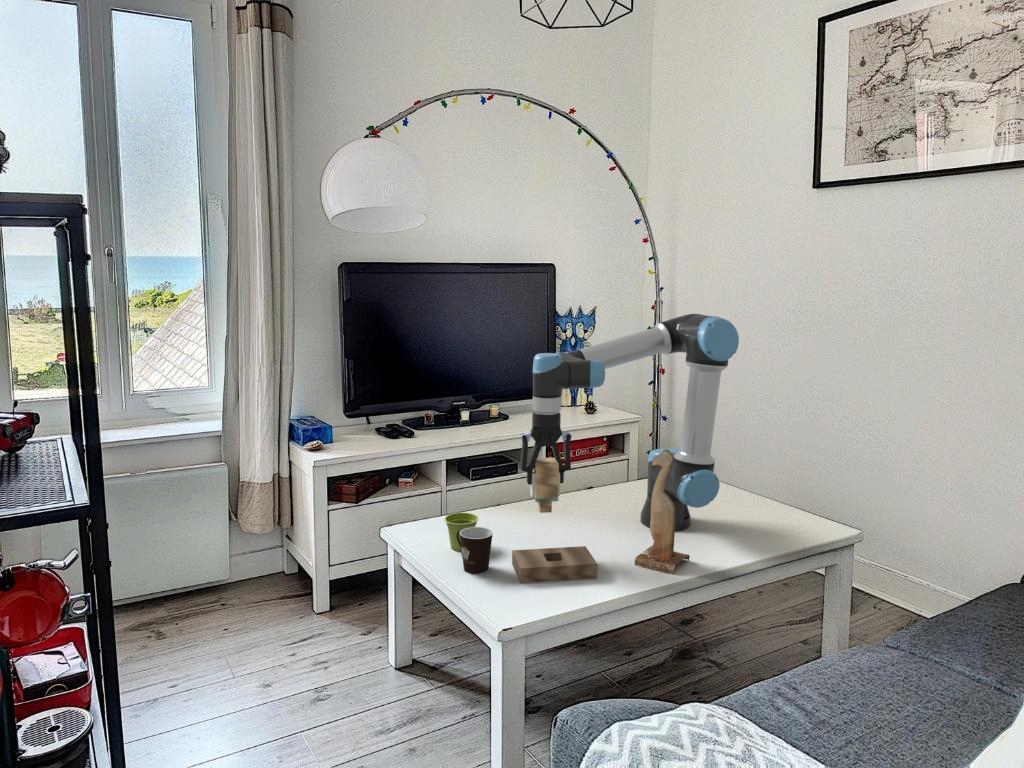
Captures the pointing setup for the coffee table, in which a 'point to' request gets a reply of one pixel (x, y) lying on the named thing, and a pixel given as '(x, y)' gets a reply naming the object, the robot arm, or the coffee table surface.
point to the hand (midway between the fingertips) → (545, 494)
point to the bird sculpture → (661, 523)
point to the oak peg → (546, 483)
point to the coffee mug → (475, 549)
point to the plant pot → (459, 526)
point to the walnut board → (554, 564)
